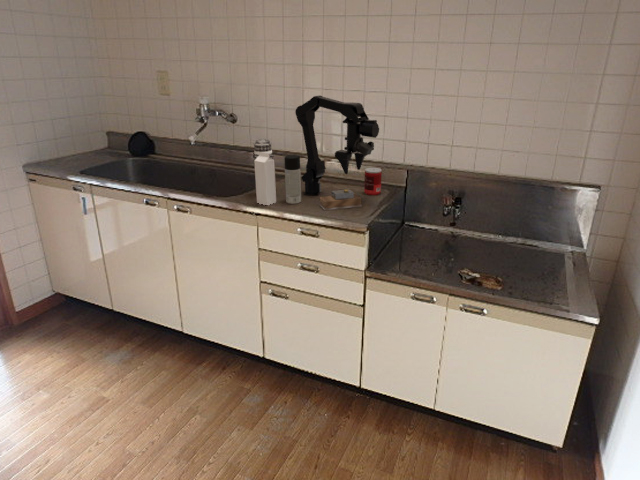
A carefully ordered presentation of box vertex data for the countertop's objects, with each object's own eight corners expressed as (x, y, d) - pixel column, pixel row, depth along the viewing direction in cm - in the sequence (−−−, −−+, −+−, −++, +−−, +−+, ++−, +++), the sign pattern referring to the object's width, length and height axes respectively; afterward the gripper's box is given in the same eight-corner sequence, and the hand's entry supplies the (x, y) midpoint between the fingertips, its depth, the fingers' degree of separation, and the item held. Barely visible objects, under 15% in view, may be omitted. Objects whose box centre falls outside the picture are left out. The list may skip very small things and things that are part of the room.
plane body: (324, 210, 191) (324, 202, 190) (319, 204, 198) (319, 197, 197) (361, 206, 196) (362, 198, 194) (355, 201, 202) (355, 193, 201)
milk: (266, 200, 205) (263, 150, 197) (276, 202, 202) (274, 152, 193) (256, 203, 201) (253, 152, 192) (267, 206, 197) (264, 154, 189)
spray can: (303, 200, 204) (302, 155, 197) (297, 204, 198) (296, 158, 191) (289, 198, 206) (287, 154, 199) (283, 203, 200) (281, 157, 193)
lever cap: (335, 200, 193) (335, 192, 191) (331, 196, 197) (331, 189, 196) (353, 198, 195) (353, 190, 193) (349, 194, 199) (349, 187, 198)
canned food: (380, 190, 217) (381, 167, 212) (381, 195, 209) (382, 171, 205) (364, 190, 217) (364, 167, 213) (363, 195, 210) (364, 171, 206)
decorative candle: (251, 196, 211) (247, 140, 201) (262, 190, 218) (259, 137, 209) (268, 198, 207) (265, 142, 197) (279, 193, 214) (276, 138, 205)
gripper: (357, 140, 180) (355, 179, 186) (382, 134, 193) (380, 170, 199) (334, 137, 186) (333, 175, 192) (360, 130, 200) (358, 166, 206)
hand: (352, 171), depth 197 cm, fingers open, 9 cm apart
